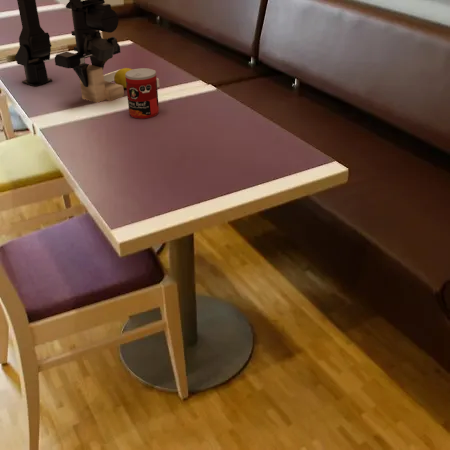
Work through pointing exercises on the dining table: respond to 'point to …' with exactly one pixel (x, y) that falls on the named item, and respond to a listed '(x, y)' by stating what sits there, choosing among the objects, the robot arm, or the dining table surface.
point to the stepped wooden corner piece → (100, 86)
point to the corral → (110, 76)
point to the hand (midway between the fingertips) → (92, 84)
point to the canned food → (142, 93)
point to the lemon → (121, 77)
